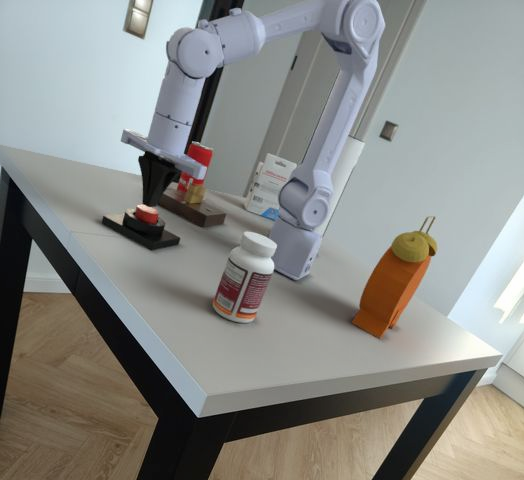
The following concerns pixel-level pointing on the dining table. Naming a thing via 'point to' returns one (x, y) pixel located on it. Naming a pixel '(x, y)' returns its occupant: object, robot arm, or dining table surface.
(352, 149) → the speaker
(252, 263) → the pill bottle
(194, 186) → the lock knob
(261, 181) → the ink box
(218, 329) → the dining table surface
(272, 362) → the dining table surface
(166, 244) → the box
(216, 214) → the plate
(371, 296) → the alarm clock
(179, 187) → the beverage can
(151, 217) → the bell button
